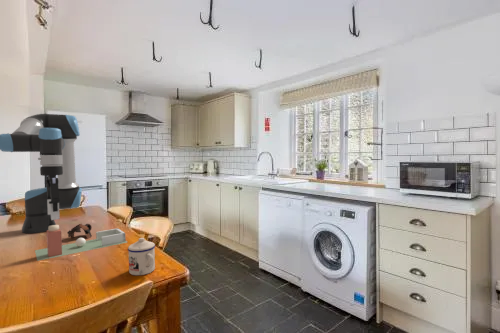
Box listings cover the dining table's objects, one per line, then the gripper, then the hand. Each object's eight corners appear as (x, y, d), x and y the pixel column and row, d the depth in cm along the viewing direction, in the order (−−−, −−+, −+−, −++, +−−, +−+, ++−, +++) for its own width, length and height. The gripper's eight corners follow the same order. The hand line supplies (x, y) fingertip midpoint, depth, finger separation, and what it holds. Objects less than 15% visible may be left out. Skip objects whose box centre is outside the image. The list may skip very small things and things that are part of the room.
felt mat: (34, 250, 119) (34, 250, 119) (118, 235, 142) (118, 234, 142) (37, 261, 107) (37, 260, 107) (127, 242, 130) (127, 242, 130)
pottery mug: (85, 242, 133) (75, 228, 131) (71, 249, 135) (60, 236, 133) (100, 229, 144) (90, 216, 143) (86, 236, 146) (77, 223, 144)
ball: (74, 246, 124) (74, 237, 124) (84, 244, 127) (84, 236, 127) (76, 248, 121) (76, 239, 121) (86, 246, 124) (86, 237, 124)
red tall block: (47, 254, 115) (46, 225, 114) (60, 251, 117) (59, 224, 117) (48, 257, 111) (47, 227, 111) (62, 254, 114) (60, 226, 114)
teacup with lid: (123, 271, 98) (122, 238, 97) (147, 263, 104) (147, 233, 104) (140, 281, 90) (139, 246, 89) (164, 272, 96) (164, 239, 96)
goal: (96, 240, 133) (96, 231, 133) (118, 235, 140) (118, 228, 140) (102, 246, 124) (102, 237, 124) (125, 241, 131) (125, 233, 131)
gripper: (37, 165, 120) (39, 213, 121) (42, 166, 101) (44, 223, 102) (58, 164, 125) (60, 211, 125) (66, 165, 106) (68, 220, 107)
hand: (53, 216), depth 114 cm, fingers open, 13 cm apart
